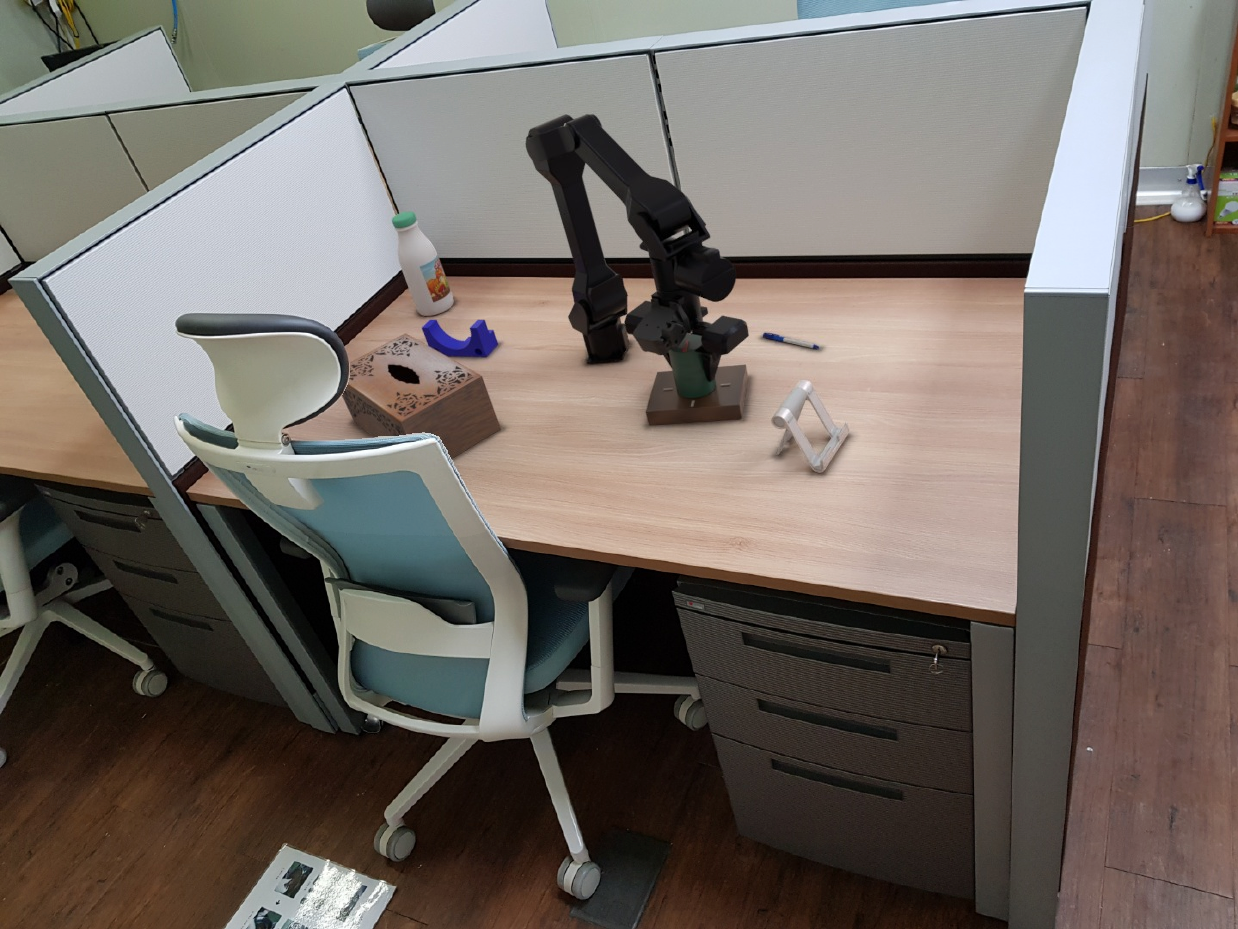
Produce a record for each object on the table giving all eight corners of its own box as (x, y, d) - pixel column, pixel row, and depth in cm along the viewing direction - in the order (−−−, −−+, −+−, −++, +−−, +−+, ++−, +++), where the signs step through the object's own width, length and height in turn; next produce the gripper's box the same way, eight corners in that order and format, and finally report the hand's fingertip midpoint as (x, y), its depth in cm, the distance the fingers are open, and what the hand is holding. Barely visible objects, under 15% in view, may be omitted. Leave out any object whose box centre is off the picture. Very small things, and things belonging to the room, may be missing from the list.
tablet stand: (825, 474, 120) (819, 421, 116) (770, 464, 125) (762, 413, 120) (849, 436, 126) (845, 384, 121) (795, 427, 130) (789, 377, 125)
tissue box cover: (500, 428, 147) (482, 375, 141) (423, 475, 141) (400, 421, 135) (425, 381, 165) (405, 333, 159) (353, 421, 159) (331, 372, 153)
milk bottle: (424, 320, 186) (388, 227, 174) (414, 308, 192) (378, 217, 180) (459, 306, 188) (426, 213, 176) (448, 294, 194) (415, 203, 182)
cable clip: (498, 344, 171) (488, 315, 167) (486, 357, 167) (476, 328, 164) (444, 343, 176) (434, 315, 172) (432, 355, 172) (421, 327, 169)
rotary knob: (679, 378, 142) (669, 331, 138) (718, 374, 141) (709, 327, 136) (674, 399, 138) (663, 352, 133) (714, 396, 136) (705, 348, 131)
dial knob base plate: (648, 425, 138) (645, 410, 137) (660, 385, 147) (656, 370, 145) (741, 419, 135) (739, 403, 133) (748, 377, 143) (745, 363, 141)
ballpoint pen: (761, 338, 152) (761, 333, 151) (764, 336, 152) (764, 330, 152) (817, 350, 145) (817, 344, 144) (820, 347, 146) (820, 342, 145)
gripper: (589, 298, 131) (613, 391, 140) (693, 320, 119) (712, 419, 128) (639, 263, 136) (659, 354, 146) (743, 280, 125) (757, 378, 134)
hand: (694, 376), depth 138 cm, fingers closed on rotary knob, 6 cm apart
